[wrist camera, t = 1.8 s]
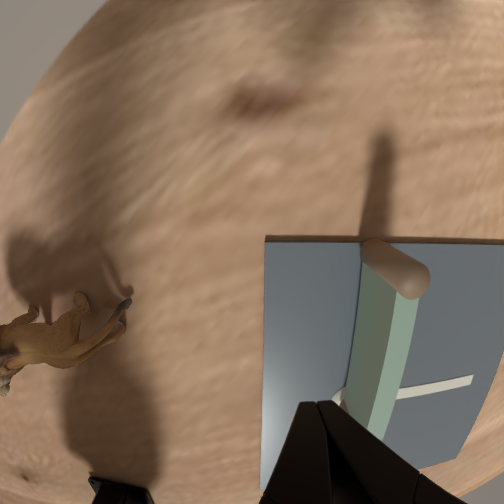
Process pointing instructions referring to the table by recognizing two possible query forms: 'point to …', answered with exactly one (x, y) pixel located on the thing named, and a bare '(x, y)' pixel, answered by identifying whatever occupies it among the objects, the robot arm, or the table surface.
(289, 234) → the table surface
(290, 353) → the card
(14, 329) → the lion figurine
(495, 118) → the table surface
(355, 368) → the fence panel
